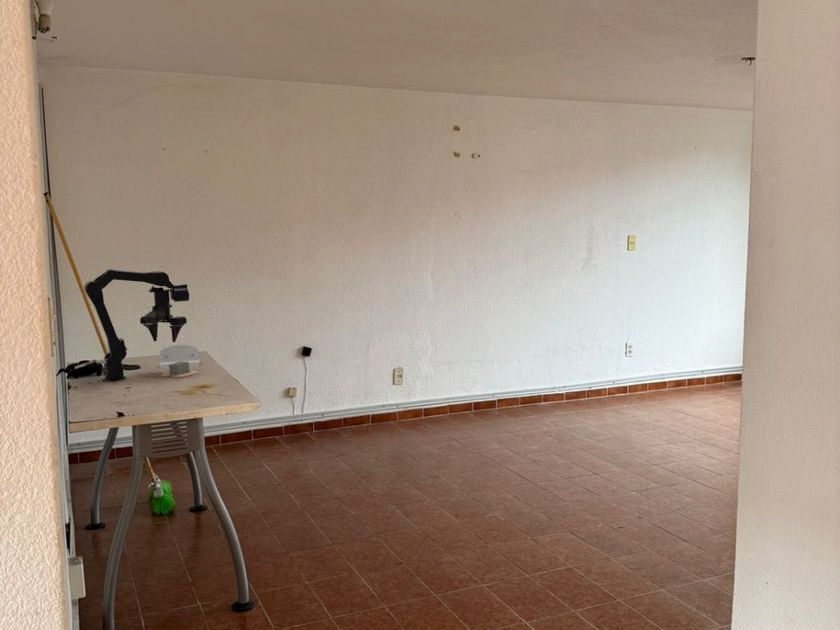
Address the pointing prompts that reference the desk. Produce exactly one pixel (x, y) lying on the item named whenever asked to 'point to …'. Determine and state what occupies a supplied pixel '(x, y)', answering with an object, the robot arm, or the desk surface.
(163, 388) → the desk surface
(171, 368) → the plug
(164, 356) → the hinge
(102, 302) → the robot arm
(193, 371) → the coaster
